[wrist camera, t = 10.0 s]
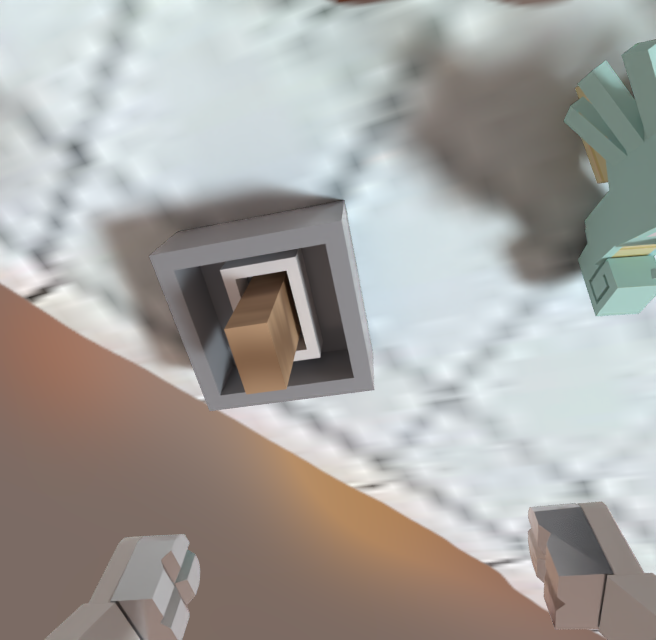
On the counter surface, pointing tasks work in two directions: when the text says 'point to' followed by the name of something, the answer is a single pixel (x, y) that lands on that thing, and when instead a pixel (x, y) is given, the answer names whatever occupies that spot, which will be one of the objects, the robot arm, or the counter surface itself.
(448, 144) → the counter surface
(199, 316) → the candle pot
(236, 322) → the tan wooden brick
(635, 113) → the toy
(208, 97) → the counter surface
